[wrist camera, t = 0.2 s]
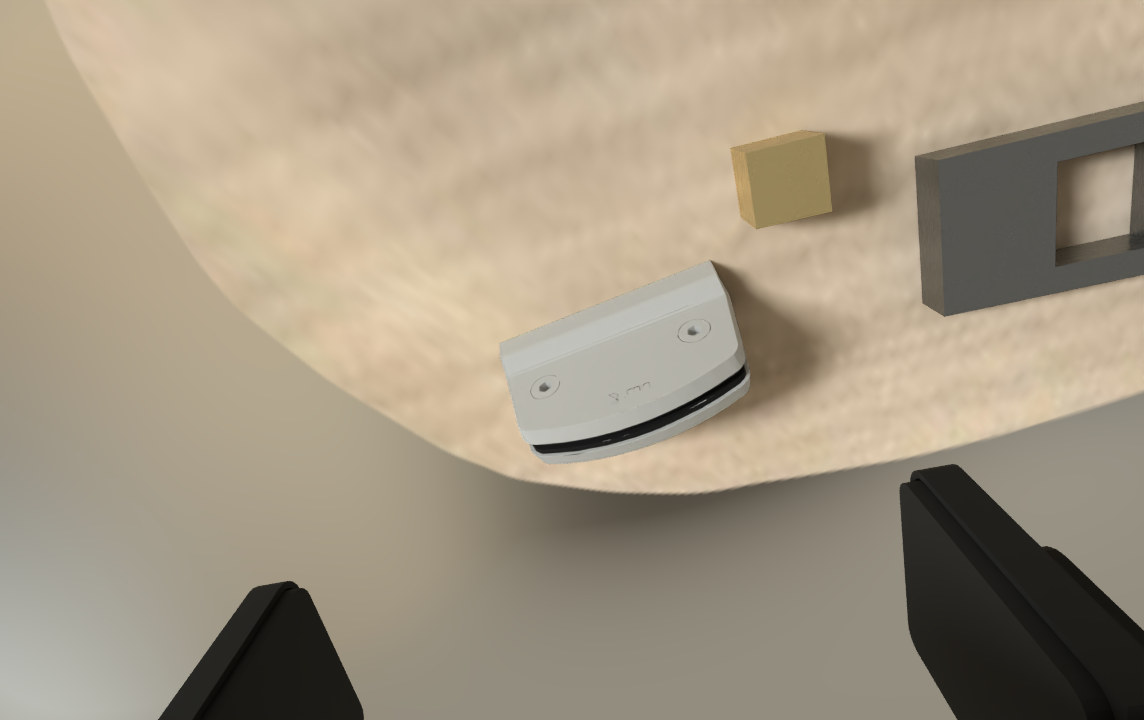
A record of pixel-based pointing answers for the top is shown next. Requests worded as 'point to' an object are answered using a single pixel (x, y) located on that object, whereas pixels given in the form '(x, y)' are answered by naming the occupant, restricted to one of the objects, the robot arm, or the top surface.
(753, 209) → the brass cube
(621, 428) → the hinge
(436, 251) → the top surface
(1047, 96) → the top surface
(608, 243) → the top surface
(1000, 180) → the grey square hole block
